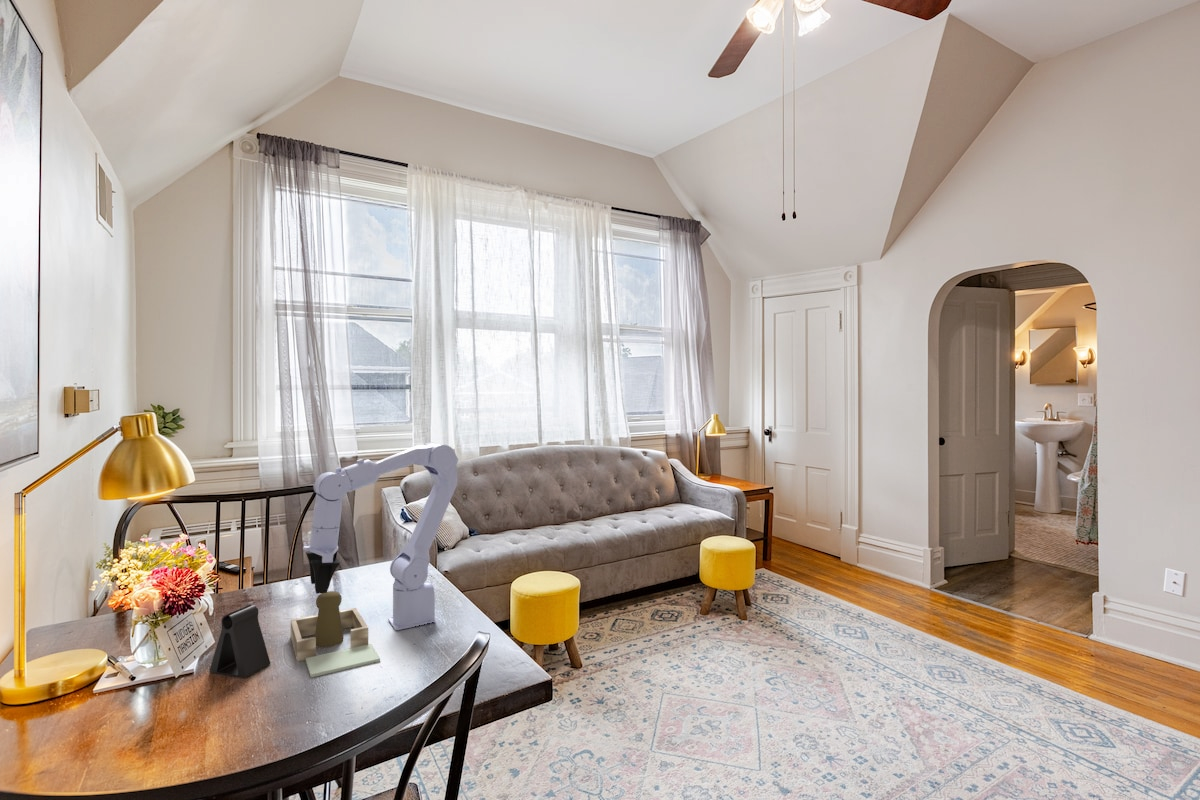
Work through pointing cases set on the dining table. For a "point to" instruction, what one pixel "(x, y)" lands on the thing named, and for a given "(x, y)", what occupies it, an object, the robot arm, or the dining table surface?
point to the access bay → (308, 627)
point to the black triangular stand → (240, 645)
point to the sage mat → (341, 660)
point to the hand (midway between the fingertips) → (318, 588)
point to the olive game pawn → (328, 620)
